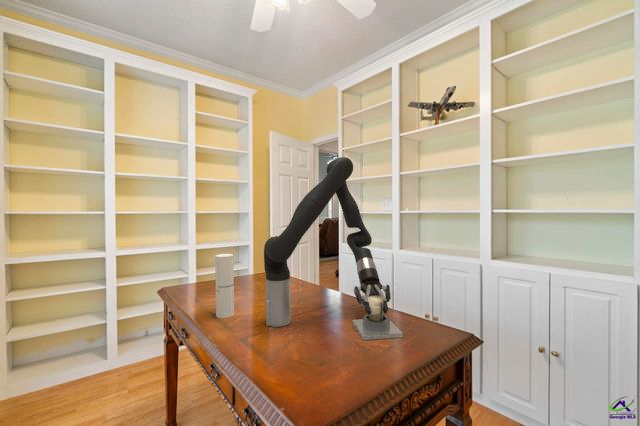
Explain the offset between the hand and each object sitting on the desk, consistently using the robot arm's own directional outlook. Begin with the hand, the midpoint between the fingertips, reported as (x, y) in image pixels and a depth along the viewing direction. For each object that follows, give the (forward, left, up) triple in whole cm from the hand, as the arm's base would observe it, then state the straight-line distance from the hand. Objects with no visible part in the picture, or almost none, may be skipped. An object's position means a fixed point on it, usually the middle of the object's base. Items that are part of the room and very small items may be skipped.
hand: (377, 312), depth 104 cm
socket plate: (0, +2, -7) cm, 7 cm away
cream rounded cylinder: (0, +2, -5) cm, 6 cm away
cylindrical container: (-57, +27, -7) cm, 63 cm away
